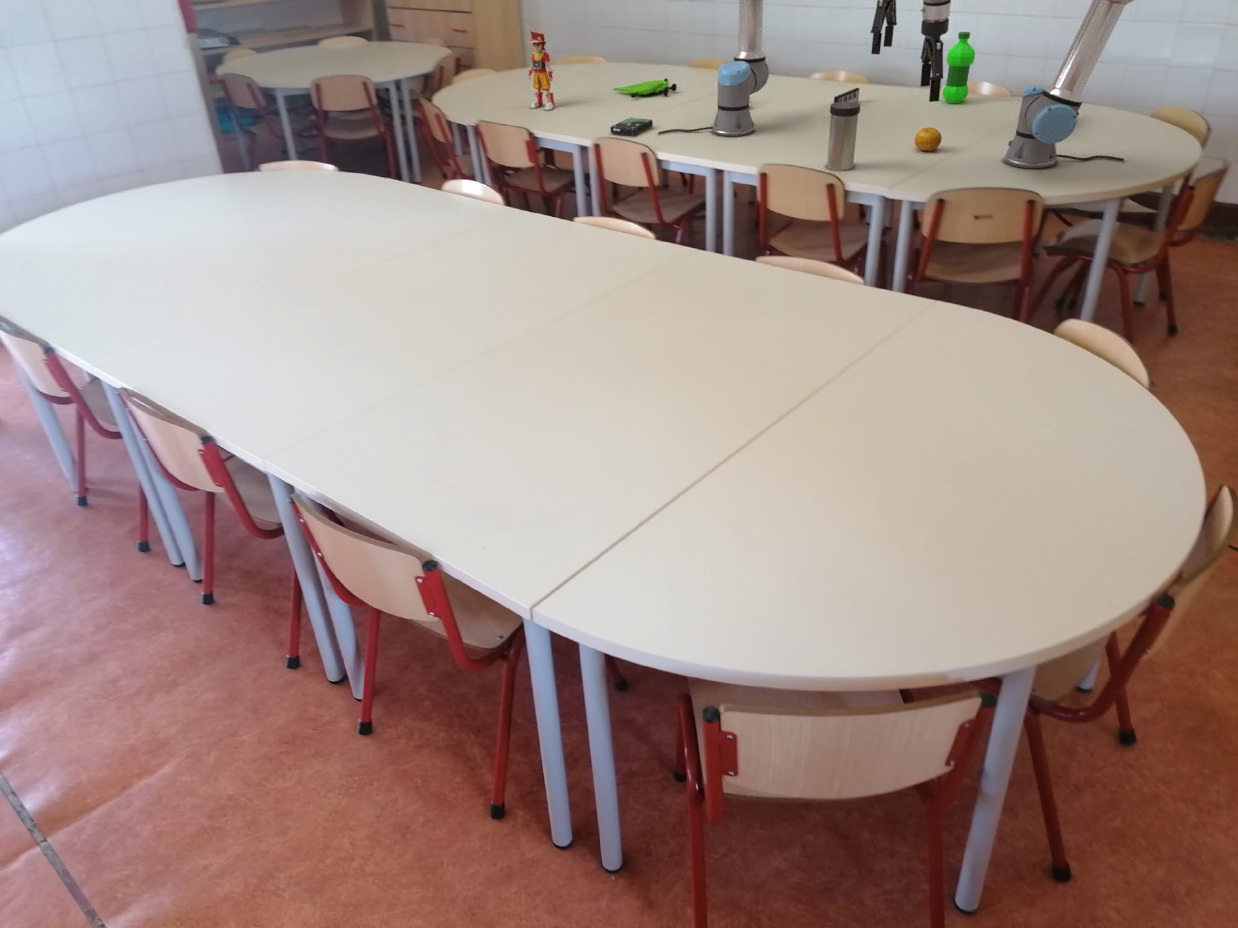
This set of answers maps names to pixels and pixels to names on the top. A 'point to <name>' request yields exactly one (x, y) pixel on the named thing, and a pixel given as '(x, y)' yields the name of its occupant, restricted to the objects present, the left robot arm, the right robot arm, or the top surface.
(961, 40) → the plastic bottle
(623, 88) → the toy
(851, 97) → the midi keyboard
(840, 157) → the jar
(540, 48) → the toy
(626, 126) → the disk drive
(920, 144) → the fruit
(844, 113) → the lid
